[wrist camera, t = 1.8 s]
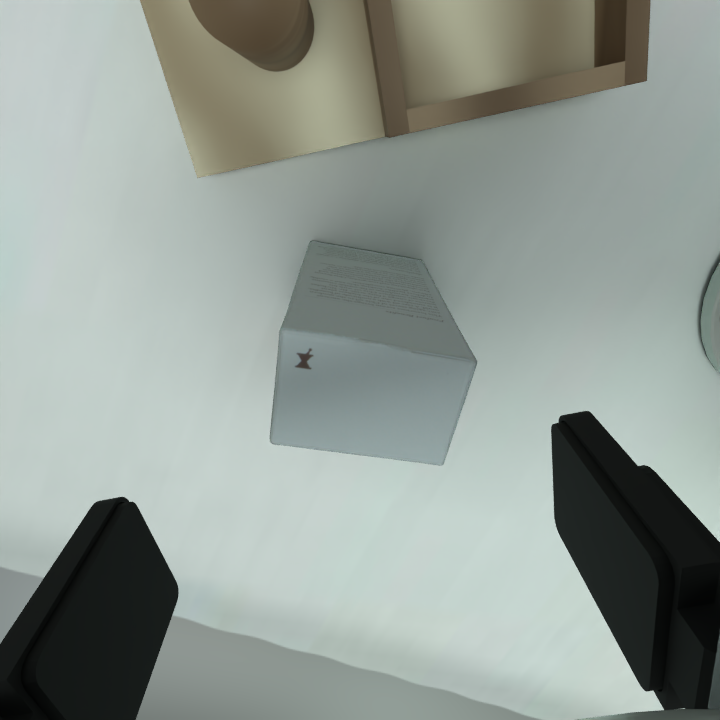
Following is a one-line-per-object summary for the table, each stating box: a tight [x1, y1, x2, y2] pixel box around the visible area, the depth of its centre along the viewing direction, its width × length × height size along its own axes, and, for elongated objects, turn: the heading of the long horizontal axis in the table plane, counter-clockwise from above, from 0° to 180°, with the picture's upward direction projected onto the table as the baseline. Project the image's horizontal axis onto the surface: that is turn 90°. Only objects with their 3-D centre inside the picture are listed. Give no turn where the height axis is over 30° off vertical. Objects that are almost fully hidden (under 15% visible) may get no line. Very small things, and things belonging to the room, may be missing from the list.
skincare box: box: [270, 241, 477, 466], centre depth 20 cm, size 6×4×12 cm
